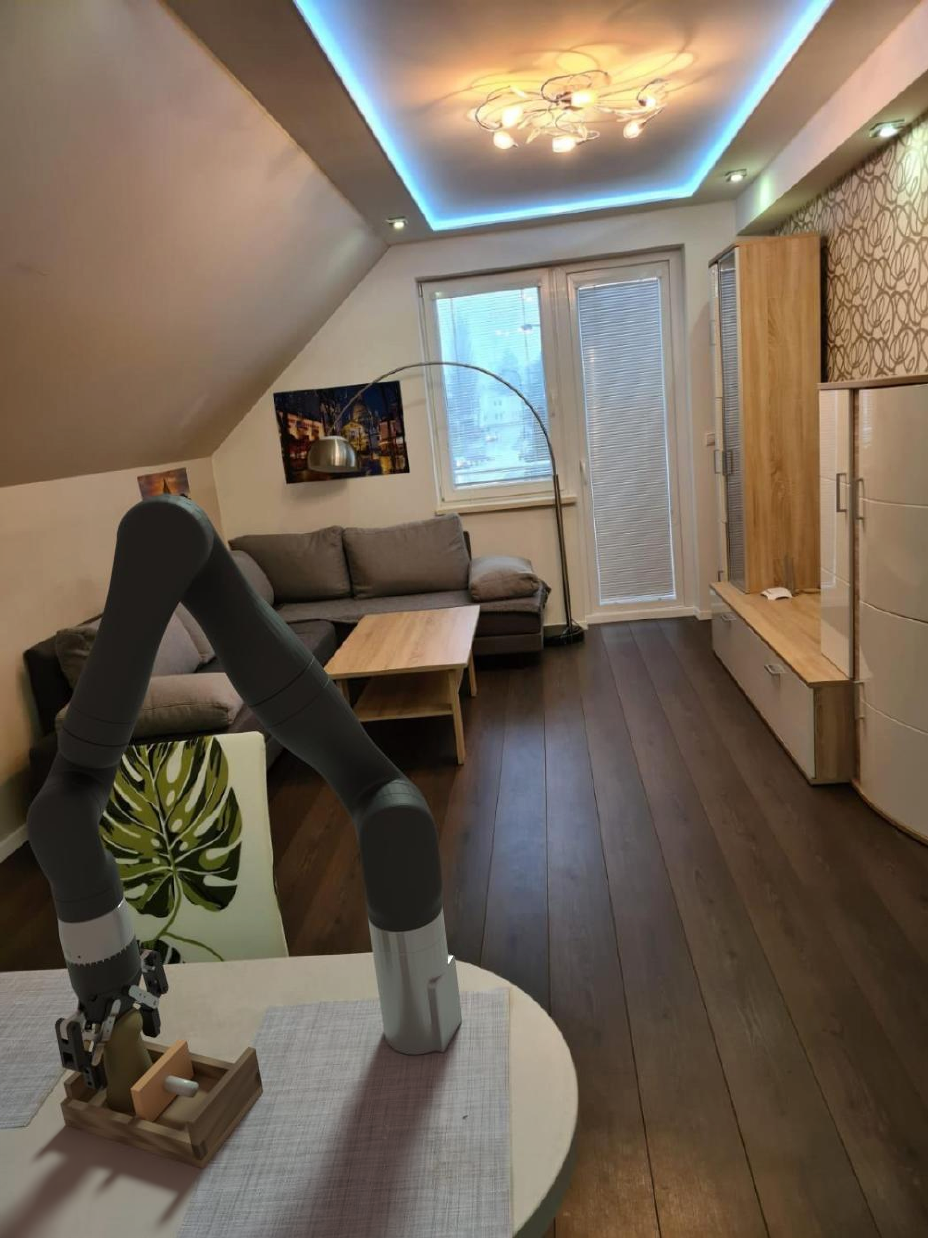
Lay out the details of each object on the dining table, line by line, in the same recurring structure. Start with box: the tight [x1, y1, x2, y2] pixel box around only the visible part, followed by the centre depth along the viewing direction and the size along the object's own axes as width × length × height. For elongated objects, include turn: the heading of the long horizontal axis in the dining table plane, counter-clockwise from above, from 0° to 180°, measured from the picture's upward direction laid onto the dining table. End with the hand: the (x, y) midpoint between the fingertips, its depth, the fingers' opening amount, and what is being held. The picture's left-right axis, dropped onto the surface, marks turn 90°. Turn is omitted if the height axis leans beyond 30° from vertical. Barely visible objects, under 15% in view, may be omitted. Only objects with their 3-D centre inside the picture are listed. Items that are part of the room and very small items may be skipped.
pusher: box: [131, 1038, 198, 1122], centre depth 97 cm, size 5×8×5 cm, turn 158°
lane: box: [59, 1040, 264, 1169], centre depth 98 cm, size 20×11×6 cm, turn 68°
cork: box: [94, 1005, 153, 1113], centre depth 99 cm, size 6×6×11 cm
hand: (126, 1060), depth 99 cm, fingers open, 8 cm apart
